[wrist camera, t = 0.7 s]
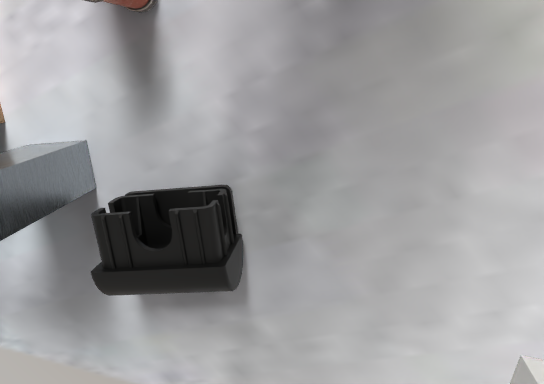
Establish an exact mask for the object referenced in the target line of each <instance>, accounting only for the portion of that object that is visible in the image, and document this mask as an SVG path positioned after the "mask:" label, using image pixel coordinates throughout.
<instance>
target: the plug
mask: <svg viewBox="0 0 544 384" xmlns="http://www.w3.org/2000/svg"><path fill="white" fill-rule="evenodd" d="M4 122H5V120H4V116H3V112H2V108H1V104H0V123H4Z"/></svg>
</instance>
